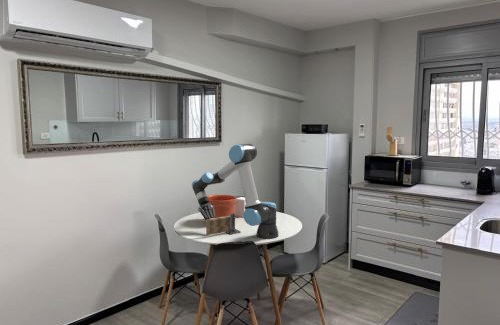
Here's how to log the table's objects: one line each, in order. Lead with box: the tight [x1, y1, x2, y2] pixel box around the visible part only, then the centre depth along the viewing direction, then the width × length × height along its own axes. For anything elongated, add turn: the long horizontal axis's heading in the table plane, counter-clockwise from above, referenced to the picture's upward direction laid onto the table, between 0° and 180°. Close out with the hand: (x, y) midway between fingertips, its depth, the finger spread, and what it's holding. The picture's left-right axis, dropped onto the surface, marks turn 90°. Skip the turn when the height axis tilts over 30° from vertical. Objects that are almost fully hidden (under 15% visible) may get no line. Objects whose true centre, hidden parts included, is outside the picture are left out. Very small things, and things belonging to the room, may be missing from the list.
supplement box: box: [235, 196, 246, 218], centre depth 304 cm, size 9×9×15 cm
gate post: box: [225, 213, 241, 235], centre depth 257 cm, size 8×8×14 cm
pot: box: [207, 194, 238, 218], centre depth 286 cm, size 25×25×19 cm
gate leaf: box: [205, 216, 231, 236], centre depth 250 cm, size 18×2×10 cm, turn 125°
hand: (214, 227), depth 252 cm, fingers closed
